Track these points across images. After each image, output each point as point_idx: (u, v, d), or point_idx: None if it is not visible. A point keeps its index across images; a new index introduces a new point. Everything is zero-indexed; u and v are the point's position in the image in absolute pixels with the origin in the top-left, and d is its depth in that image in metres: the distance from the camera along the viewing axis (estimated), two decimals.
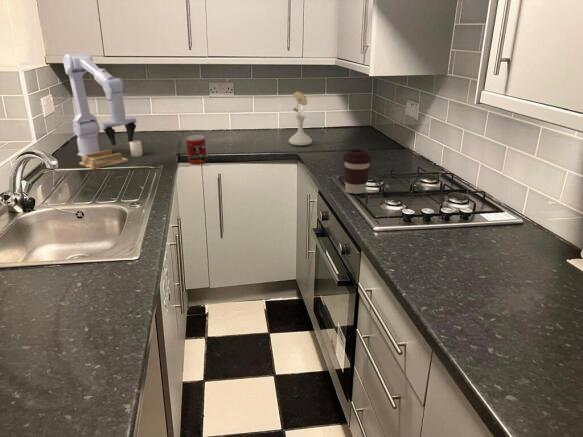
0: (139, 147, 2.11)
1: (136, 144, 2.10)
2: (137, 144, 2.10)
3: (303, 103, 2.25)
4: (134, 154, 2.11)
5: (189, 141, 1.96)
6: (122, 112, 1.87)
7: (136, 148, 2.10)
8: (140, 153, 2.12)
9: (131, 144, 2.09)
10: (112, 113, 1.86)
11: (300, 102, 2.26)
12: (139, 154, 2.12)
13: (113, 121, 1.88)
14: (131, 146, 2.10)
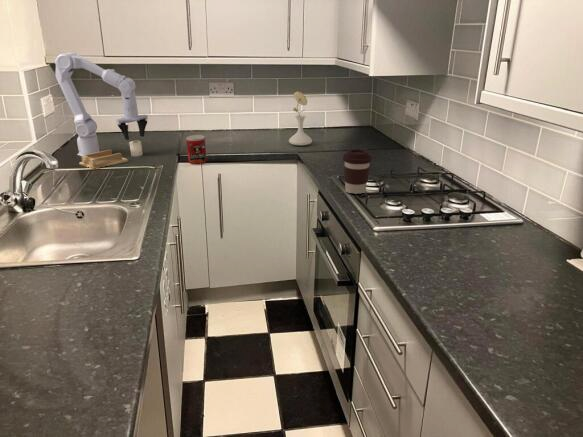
0: (139, 147, 2.11)
1: (136, 144, 2.10)
2: (137, 144, 2.10)
3: (303, 103, 2.25)
4: (134, 154, 2.11)
5: (189, 141, 1.96)
6: (135, 109, 2.04)
7: (136, 148, 2.10)
8: (140, 153, 2.12)
9: (131, 144, 2.09)
10: (126, 110, 2.03)
11: (300, 102, 2.26)
12: (139, 154, 2.12)
13: (127, 117, 2.04)
14: (131, 146, 2.10)
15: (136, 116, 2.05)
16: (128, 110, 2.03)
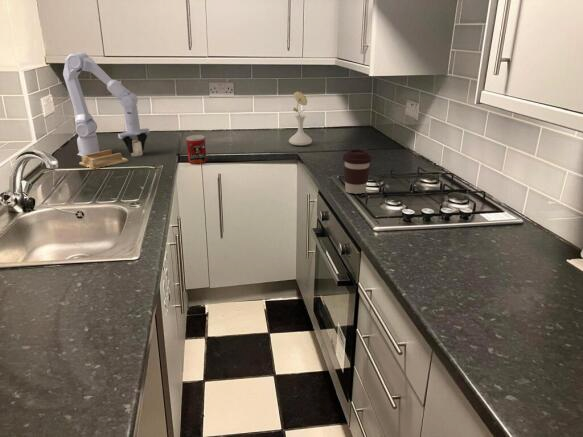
0: (139, 147, 2.11)
1: (136, 144, 2.09)
2: (137, 144, 2.10)
3: (303, 103, 2.25)
4: (134, 154, 2.11)
5: (189, 141, 1.96)
6: (137, 123, 2.07)
7: (136, 148, 2.10)
8: (140, 153, 2.12)
9: None
10: (128, 124, 2.06)
11: (300, 102, 2.26)
12: (139, 154, 2.12)
13: (129, 131, 2.07)
14: None
15: (138, 130, 2.08)
16: (130, 124, 2.05)
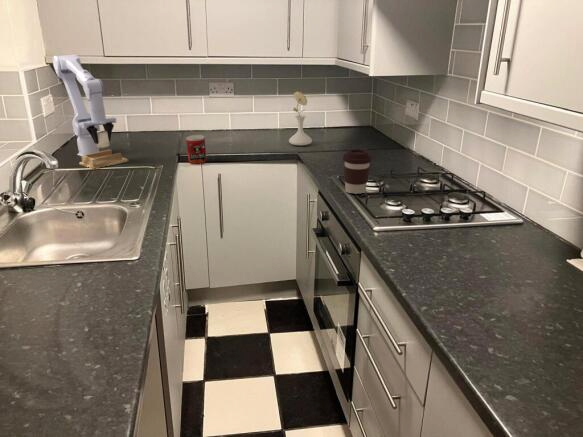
0: (105, 137, 1.97)
1: (102, 134, 1.96)
2: (103, 134, 1.96)
3: (303, 103, 2.25)
4: (100, 145, 1.98)
5: (189, 141, 1.96)
6: (102, 112, 1.93)
7: (102, 138, 1.97)
8: (106, 144, 1.99)
9: None
10: (92, 113, 1.92)
11: (300, 102, 2.26)
12: (105, 145, 1.98)
13: (93, 121, 1.93)
14: None
15: (103, 119, 1.95)
16: (94, 113, 1.92)
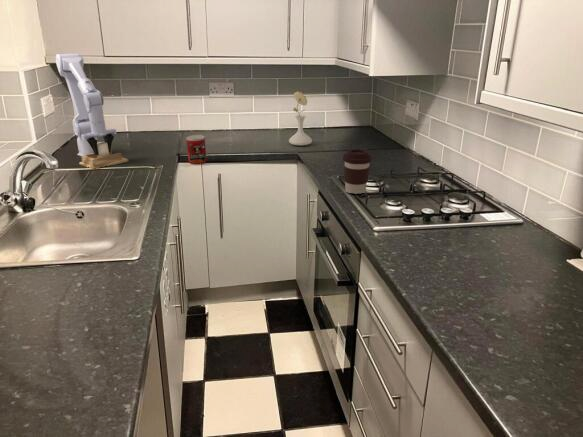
0: (105, 149, 1.99)
1: (102, 146, 1.97)
2: (103, 146, 1.98)
3: (303, 103, 2.25)
4: (100, 156, 1.99)
5: (189, 141, 1.96)
6: (102, 124, 1.95)
7: (102, 150, 1.98)
8: (106, 155, 2.00)
9: None
10: (92, 125, 1.93)
11: (300, 102, 2.26)
12: None
13: (93, 132, 1.95)
14: None
15: (103, 131, 1.96)
16: (94, 125, 1.93)
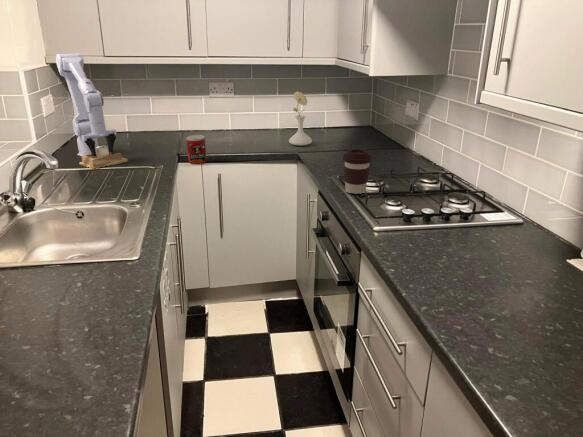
0: (106, 153, 1.99)
1: (102, 150, 1.98)
2: (103, 150, 1.98)
3: (303, 103, 2.25)
4: None
5: (189, 141, 1.96)
6: (102, 124, 1.95)
7: (102, 154, 1.99)
8: None
9: (97, 150, 1.98)
10: (92, 125, 1.94)
11: (300, 102, 2.26)
12: None
13: (93, 133, 1.95)
14: (97, 152, 1.98)
15: (103, 131, 1.96)
16: (95, 125, 1.93)
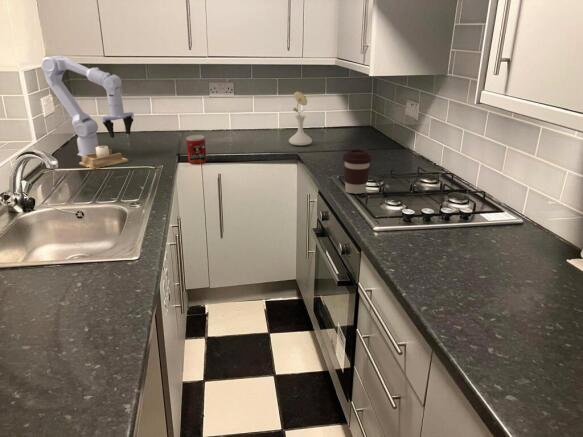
0: (106, 153, 1.99)
1: (102, 149, 1.98)
2: (103, 149, 1.98)
3: (303, 103, 2.25)
4: None
5: (189, 141, 1.96)
6: (120, 106, 2.01)
7: (102, 154, 1.99)
8: None
9: (97, 149, 1.98)
10: (111, 107, 2.00)
11: (300, 102, 2.26)
12: None
13: (112, 115, 2.02)
14: (97, 152, 1.99)
15: (121, 113, 2.03)
16: (113, 107, 2.00)
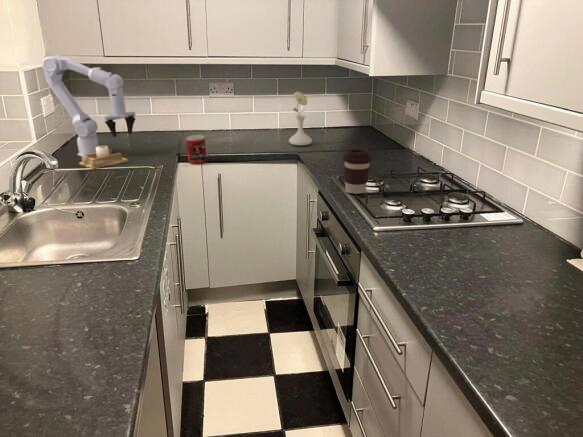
0: (106, 153, 2.00)
1: (102, 149, 1.98)
2: (103, 149, 1.98)
3: (303, 103, 2.25)
4: None
5: (189, 141, 1.96)
6: (122, 106, 2.02)
7: (102, 154, 1.99)
8: None
9: (97, 149, 1.98)
10: (113, 107, 2.01)
11: (300, 102, 2.26)
12: None
13: (114, 114, 2.03)
14: (97, 152, 1.99)
15: (124, 113, 2.04)
16: (115, 107, 2.01)
